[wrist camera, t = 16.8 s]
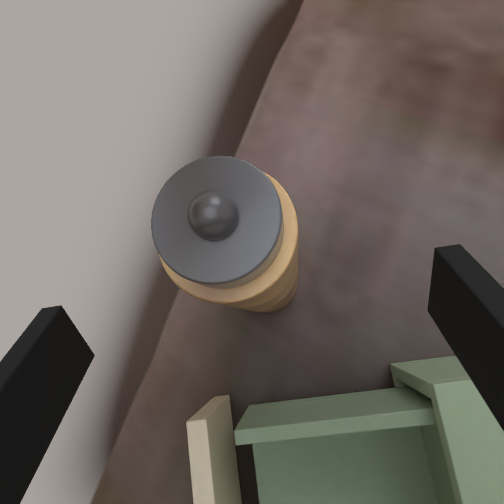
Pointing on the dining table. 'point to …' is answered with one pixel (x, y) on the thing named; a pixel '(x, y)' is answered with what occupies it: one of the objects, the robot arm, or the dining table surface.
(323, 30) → the dining table surface
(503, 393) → the robot arm
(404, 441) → the drawer
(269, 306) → the pepper mill
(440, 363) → the cabinet
